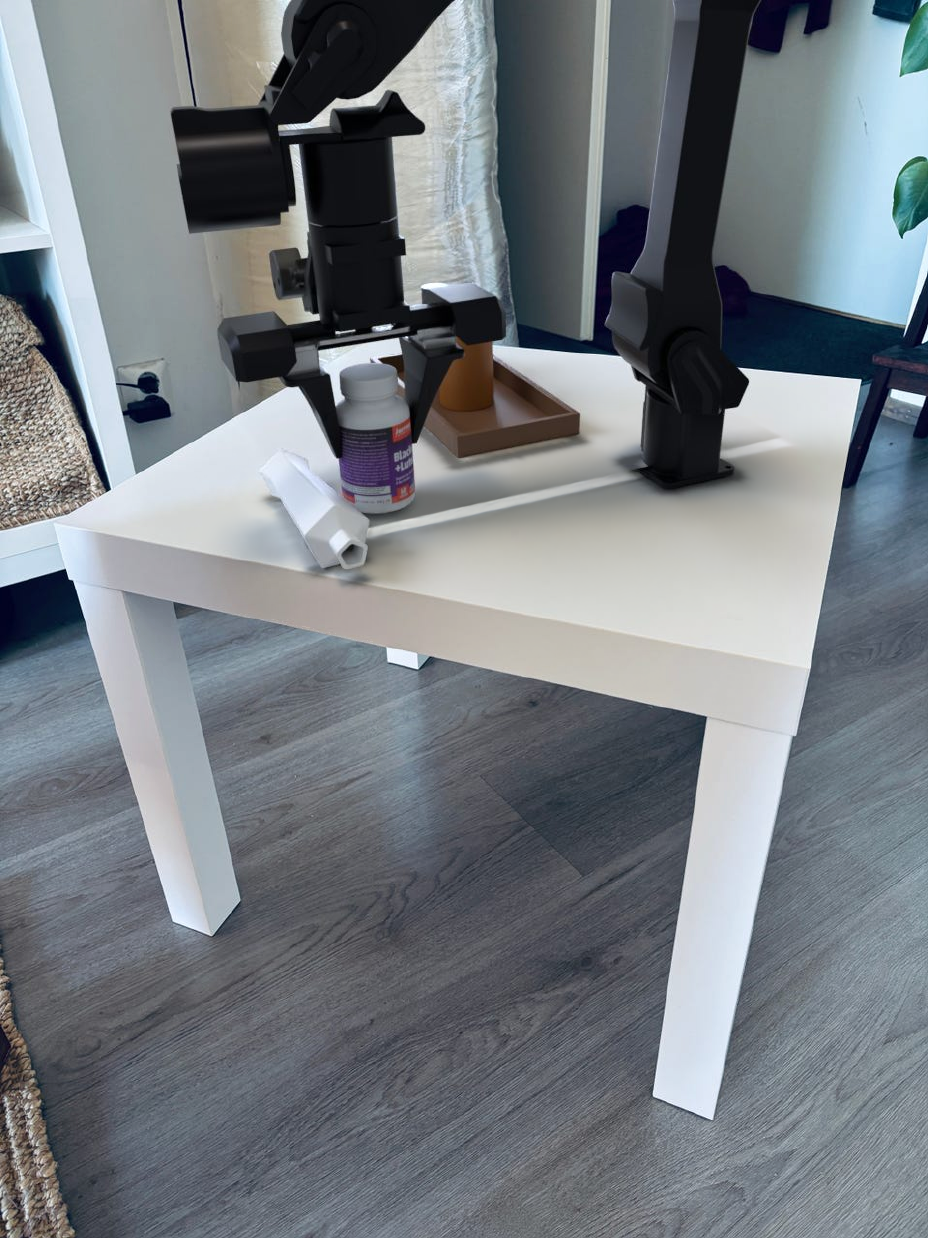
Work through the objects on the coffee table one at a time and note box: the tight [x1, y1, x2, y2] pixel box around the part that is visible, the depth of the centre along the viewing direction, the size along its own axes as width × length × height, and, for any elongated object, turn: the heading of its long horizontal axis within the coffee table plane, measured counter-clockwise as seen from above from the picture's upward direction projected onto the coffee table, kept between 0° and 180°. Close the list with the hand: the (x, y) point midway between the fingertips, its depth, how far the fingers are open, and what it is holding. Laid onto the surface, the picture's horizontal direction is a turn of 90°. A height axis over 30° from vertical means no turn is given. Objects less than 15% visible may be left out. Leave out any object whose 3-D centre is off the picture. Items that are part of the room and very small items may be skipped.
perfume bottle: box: [258, 448, 370, 570], centre depth 68 cm, size 5×4×15 cm
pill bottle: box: [335, 362, 416, 514], centre depth 69 cm, size 5×5×10 cm
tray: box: [369, 352, 581, 459], centre depth 89 cm, size 23×11×3 cm, turn 22°
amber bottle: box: [439, 337, 494, 411], centre depth 87 cm, size 5×5×9 cm
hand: (375, 448), depth 69 cm, fingers closed on pill bottle, 5 cm apart
